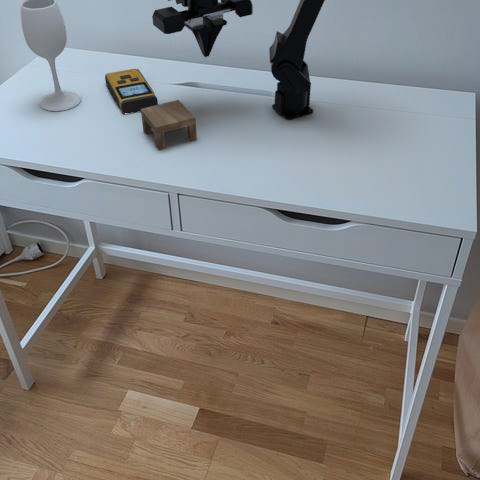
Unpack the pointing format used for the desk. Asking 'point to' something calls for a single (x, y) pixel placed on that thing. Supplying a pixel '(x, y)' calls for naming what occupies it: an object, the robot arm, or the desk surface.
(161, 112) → the footstool
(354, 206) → the desk surface
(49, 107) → the wineglass
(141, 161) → the desk surface
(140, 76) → the electronic device
